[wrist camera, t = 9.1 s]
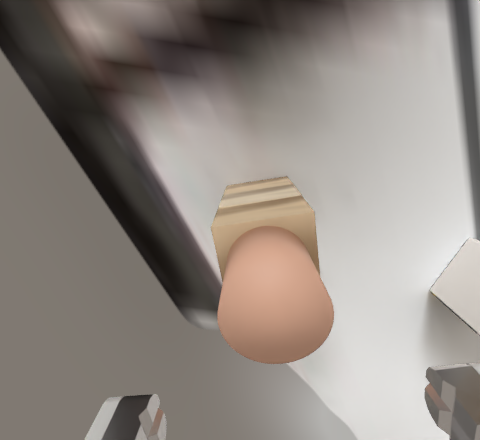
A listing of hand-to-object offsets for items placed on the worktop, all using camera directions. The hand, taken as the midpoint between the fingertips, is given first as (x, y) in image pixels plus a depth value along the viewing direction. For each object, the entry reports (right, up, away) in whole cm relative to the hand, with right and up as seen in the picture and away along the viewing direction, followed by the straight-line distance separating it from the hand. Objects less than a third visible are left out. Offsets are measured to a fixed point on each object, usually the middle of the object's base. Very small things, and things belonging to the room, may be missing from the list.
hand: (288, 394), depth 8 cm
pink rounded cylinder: (0, +3, +8) cm, 9 cm away
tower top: (0, +4, +12) cm, 13 cm away
